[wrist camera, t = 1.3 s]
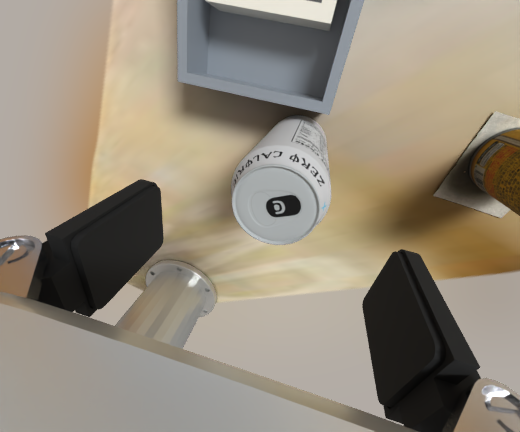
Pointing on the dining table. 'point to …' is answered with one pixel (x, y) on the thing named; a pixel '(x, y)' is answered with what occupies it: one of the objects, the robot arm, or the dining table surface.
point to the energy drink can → (283, 183)
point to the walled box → (267, 48)
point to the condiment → (488, 170)
